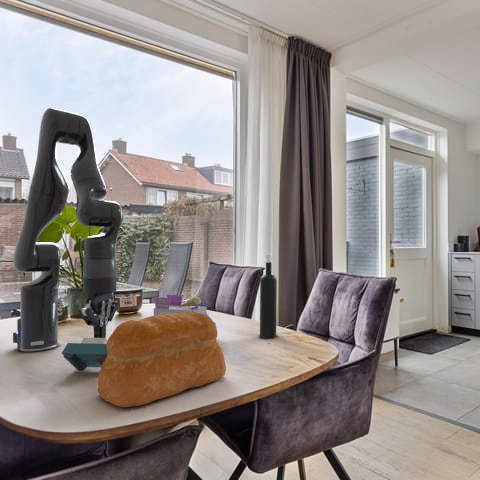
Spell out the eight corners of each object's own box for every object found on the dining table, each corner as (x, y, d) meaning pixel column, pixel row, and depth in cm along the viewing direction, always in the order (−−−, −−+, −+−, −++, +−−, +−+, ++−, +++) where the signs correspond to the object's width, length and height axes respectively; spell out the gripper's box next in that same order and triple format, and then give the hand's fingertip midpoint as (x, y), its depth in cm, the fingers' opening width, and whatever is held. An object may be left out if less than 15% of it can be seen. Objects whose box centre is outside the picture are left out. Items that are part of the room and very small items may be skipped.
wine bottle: (277, 334, 149) (278, 252, 148) (274, 338, 143) (275, 253, 143) (261, 334, 149) (262, 252, 148) (258, 338, 143) (258, 253, 142)
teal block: (72, 371, 108) (58, 357, 103) (85, 349, 112) (71, 336, 107) (116, 372, 107) (104, 359, 102) (127, 351, 112) (116, 337, 107)
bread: (232, 378, 103) (232, 310, 103) (123, 415, 82) (124, 329, 82) (196, 366, 113) (196, 304, 112) (90, 396, 91) (90, 319, 91)
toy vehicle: (202, 345, 134) (203, 299, 133) (150, 341, 138) (150, 297, 137) (218, 338, 143) (218, 295, 142) (168, 334, 147) (168, 293, 146)
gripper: (103, 272, 116) (103, 333, 116) (67, 277, 102) (67, 346, 103) (128, 273, 115) (128, 334, 115) (96, 278, 102) (96, 347, 102)
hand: (99, 339), depth 109 cm, fingers closed
